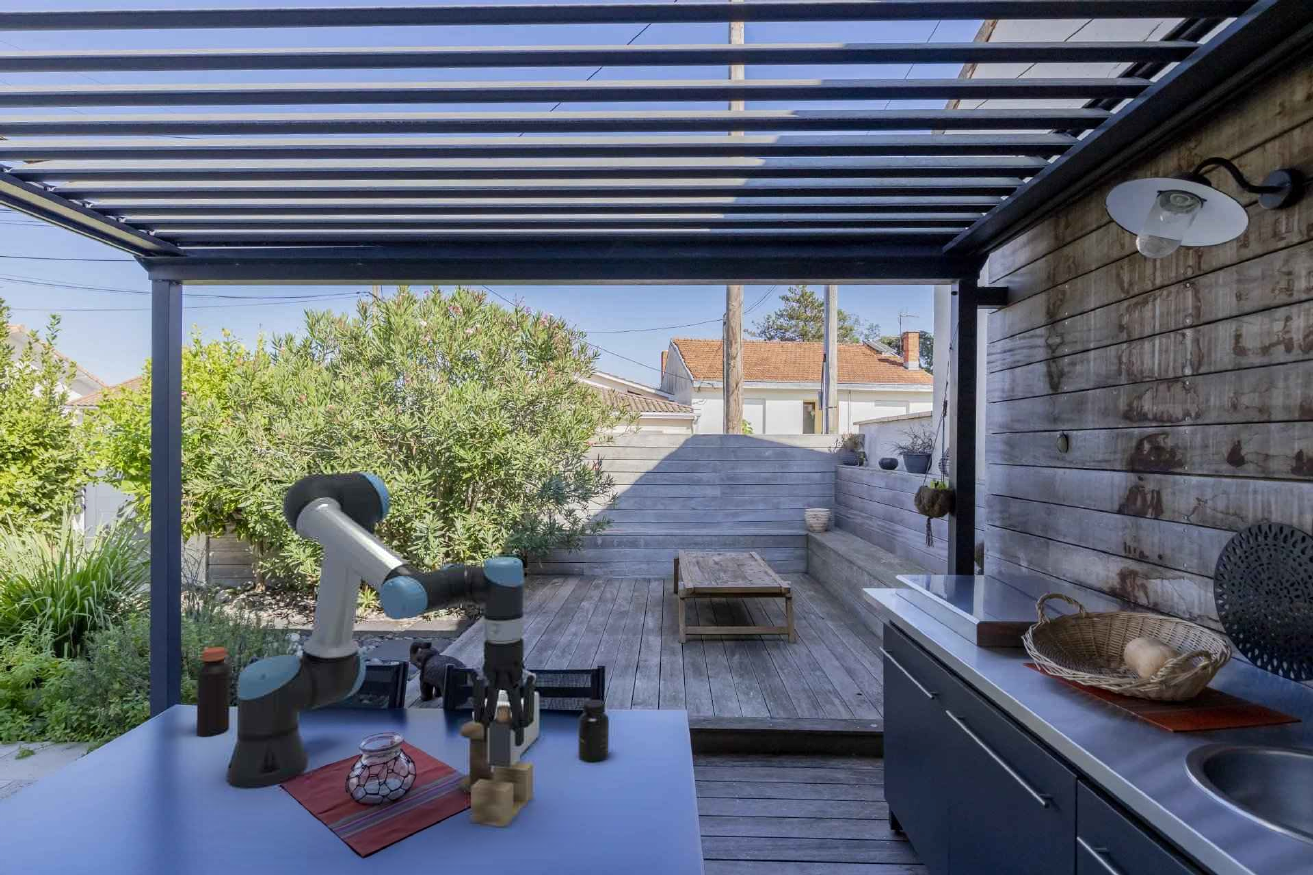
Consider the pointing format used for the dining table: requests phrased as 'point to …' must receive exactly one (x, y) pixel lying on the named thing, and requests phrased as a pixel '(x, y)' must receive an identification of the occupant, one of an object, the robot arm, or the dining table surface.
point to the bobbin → (476, 755)
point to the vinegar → (213, 693)
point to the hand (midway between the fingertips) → (503, 760)
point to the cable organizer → (529, 732)
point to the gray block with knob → (500, 738)
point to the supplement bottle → (593, 732)
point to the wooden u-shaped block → (502, 794)
